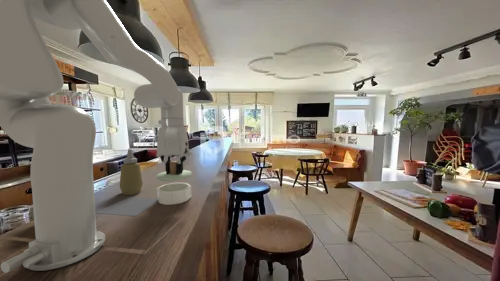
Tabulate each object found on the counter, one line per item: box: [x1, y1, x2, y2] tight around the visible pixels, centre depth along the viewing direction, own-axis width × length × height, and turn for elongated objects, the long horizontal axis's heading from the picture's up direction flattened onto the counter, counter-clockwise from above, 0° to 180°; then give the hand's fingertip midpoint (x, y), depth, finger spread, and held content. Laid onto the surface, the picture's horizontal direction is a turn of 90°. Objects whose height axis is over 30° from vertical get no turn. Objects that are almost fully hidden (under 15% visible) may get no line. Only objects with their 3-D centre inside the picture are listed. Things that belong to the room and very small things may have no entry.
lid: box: [156, 160, 192, 182], centre depth 72 cm, size 12×12×5 cm
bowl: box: [156, 182, 192, 206], centre depth 72 cm, size 11×11×5 cm
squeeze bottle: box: [119, 149, 144, 196], centre depth 79 cm, size 8×8×18 cm
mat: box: [95, 196, 159, 217], centre depth 66 cm, size 14×14×1 cm
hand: (174, 173), depth 72 cm, fingers closed on lid, 3 cm apart
